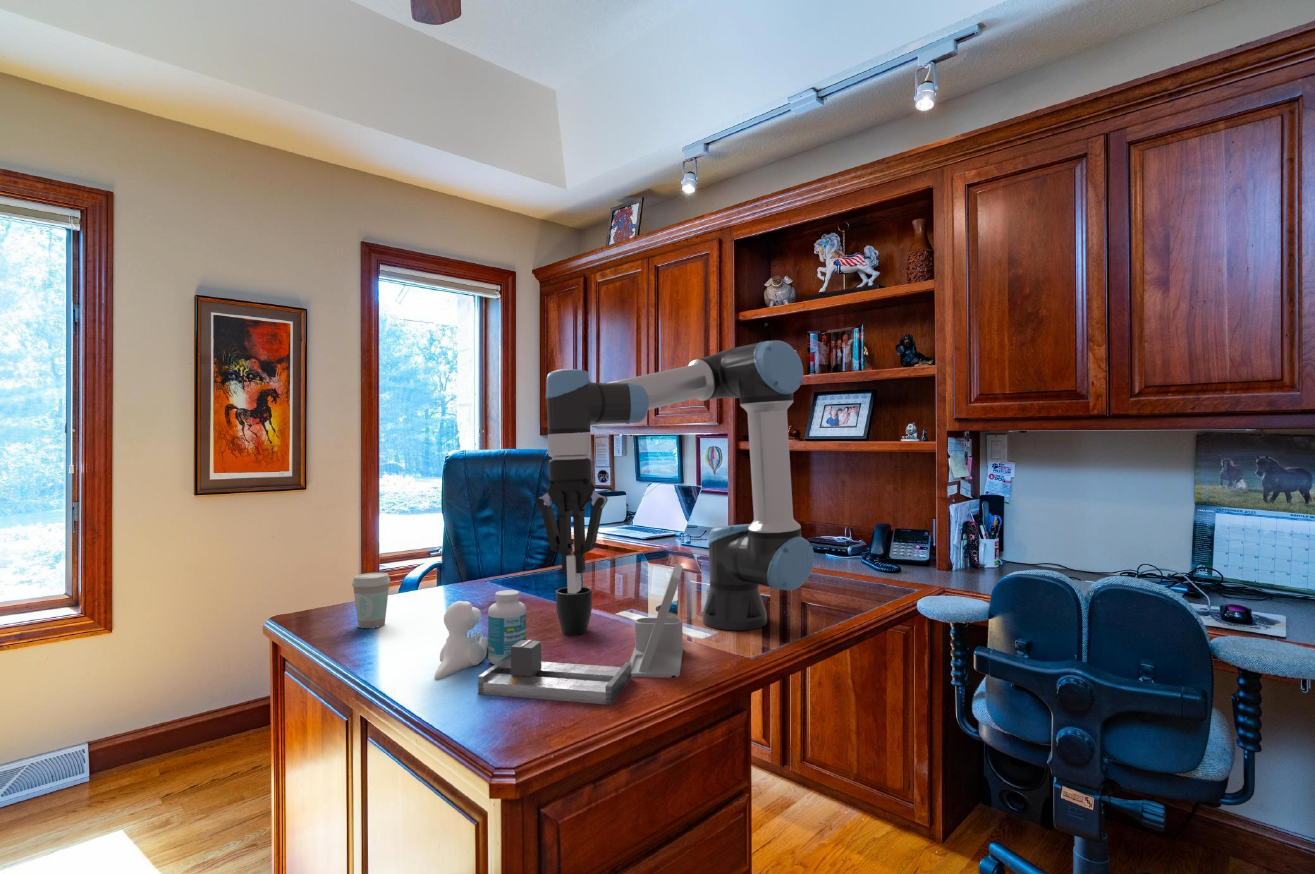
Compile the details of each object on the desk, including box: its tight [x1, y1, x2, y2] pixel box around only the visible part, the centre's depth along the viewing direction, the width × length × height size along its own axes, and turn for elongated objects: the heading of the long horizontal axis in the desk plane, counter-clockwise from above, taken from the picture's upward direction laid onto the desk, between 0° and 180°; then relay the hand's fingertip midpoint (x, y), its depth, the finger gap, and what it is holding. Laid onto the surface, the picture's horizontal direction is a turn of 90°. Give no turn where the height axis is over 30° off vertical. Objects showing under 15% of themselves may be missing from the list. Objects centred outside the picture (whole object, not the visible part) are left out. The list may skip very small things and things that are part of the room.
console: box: [477, 654, 632, 706], centre depth 114 cm, size 24×12×3 cm, turn 77°
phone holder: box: [629, 563, 684, 678], centre depth 127 cm, size 17×10×18 cm, turn 175°
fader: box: [511, 639, 542, 677], centre depth 115 cm, size 4×4×6 cm
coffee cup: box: [351, 571, 391, 629], centre depth 155 cm, size 8×9×12 cm
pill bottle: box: [487, 589, 527, 665], centre depth 128 cm, size 8×7×14 cm
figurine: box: [434, 600, 488, 680], centre depth 127 cm, size 8×18×12 cm, turn 166°
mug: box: [555, 585, 593, 636], centre depth 149 cm, size 8×12×10 cm
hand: (574, 591), depth 114 cm, fingers closed
